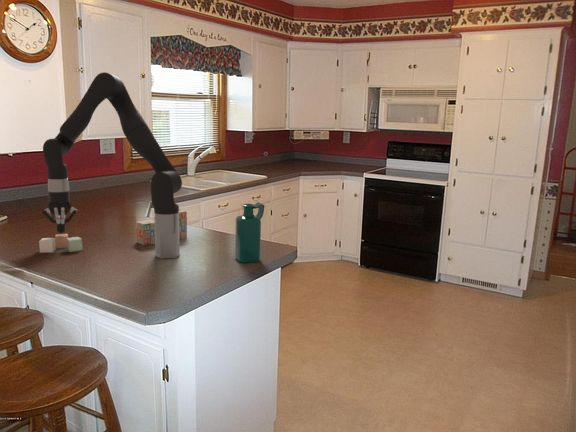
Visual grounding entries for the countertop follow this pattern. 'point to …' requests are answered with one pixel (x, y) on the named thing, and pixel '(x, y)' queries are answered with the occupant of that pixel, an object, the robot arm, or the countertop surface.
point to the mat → (59, 250)
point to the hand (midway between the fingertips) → (61, 232)
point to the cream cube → (47, 244)
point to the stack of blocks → (147, 229)
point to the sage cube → (74, 244)
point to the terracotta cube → (61, 240)
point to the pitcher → (248, 234)
